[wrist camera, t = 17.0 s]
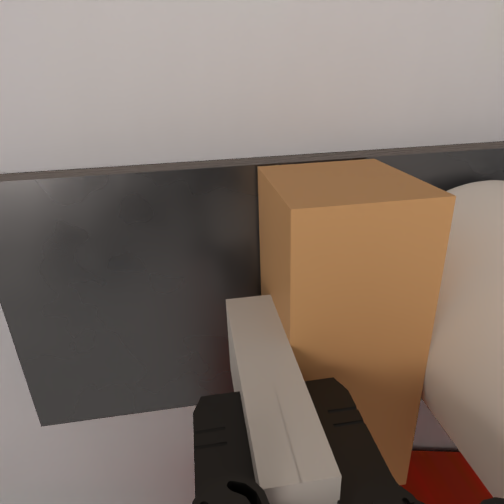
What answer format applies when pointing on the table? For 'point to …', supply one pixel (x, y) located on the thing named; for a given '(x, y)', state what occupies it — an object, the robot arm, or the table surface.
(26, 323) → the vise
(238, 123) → the table surface
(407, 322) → the block
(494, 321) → the beverage can
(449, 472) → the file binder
